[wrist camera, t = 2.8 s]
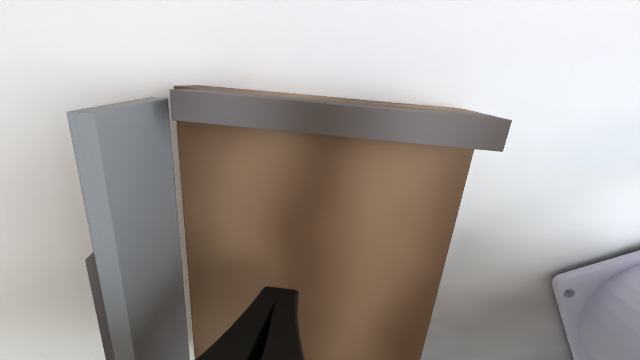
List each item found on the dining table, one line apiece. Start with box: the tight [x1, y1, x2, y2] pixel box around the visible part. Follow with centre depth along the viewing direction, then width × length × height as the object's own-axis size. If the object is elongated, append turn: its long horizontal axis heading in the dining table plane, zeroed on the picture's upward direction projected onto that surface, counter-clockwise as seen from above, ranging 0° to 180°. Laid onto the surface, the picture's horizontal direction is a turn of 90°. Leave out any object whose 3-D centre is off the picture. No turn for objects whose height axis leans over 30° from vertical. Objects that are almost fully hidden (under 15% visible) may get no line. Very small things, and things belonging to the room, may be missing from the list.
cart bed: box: [170, 85, 512, 360], centre depth 14 cm, size 12×16×4 cm
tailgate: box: [67, 97, 190, 360], centre depth 12 cm, size 1×15×5 cm, turn 176°
